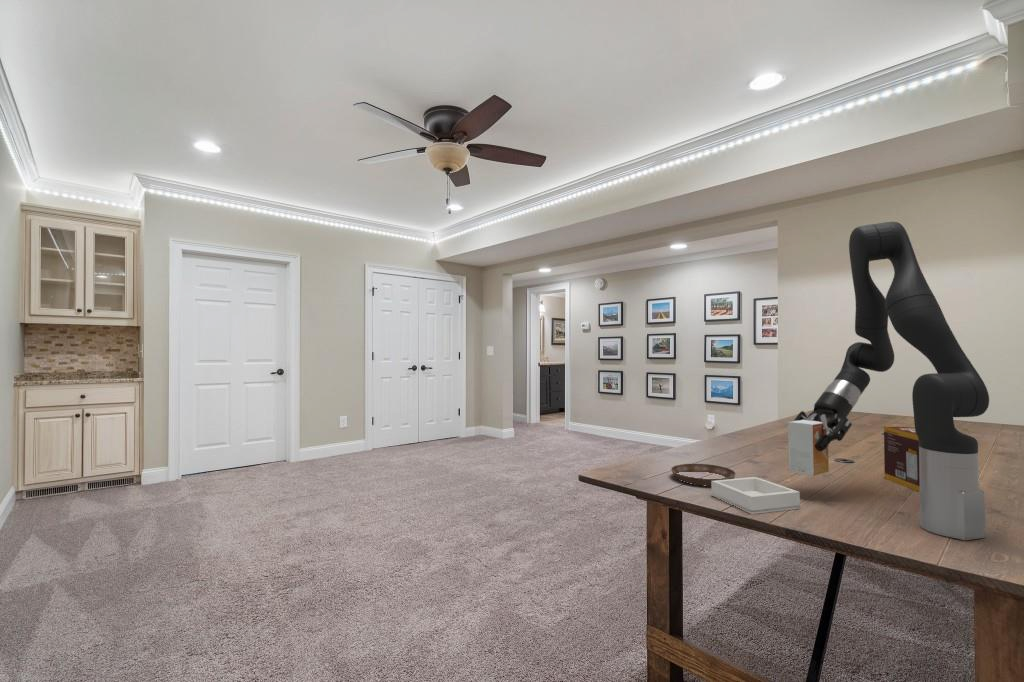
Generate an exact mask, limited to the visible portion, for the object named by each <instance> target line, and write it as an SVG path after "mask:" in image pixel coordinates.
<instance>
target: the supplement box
mask: <svg viewBox="0 0 1024 682" xmlns="http://www.w3.org/2000/svg"><path fill="white" fill-rule="evenodd" d="M883 449H884V450H883V452H884V453H883V455H884V459H883V460H884V462H883V463H884V466H883V467H884V479H887V480H888V481H891V482H893V483H897V484H899V485H901V486H904V487H906V488H909V489H912V490H915V492H919V493H920V477H919V439H918V436H917V434H916V431H915V425H913V426H911V425H910V426H909V425H907V426H906V425H905V426H904V425H894V426H893V425H884V426H883Z"/></svg>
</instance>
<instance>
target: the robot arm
mask: <svg viewBox="0 0 1024 682" xmlns="http://www.w3.org/2000/svg"><path fill="white" fill-rule="evenodd" d="M848 241H849V242H848V251H849V252H848V253H849V261H850V269H851V276H852V282H853V283H852V284H853V290H854V297H855V298H854V299H855V313H854V314H855V316H854V332H855V334H856V335H857V336H858V337H860V338H863V339H865V340H867V341H868V342H870V343H868V342H860V341H859V342H857V341H856V342H855V343H853V344H851V345H849V347H848V348H847V350H846V352H845V353H846V354H845V356H844V360H843V363H842V366H841V369H840V371H839V372H838V374H837V375H836V377H835V378H834V379H833V381H832V382H831V383H830V384H828V386H827V387H826V388H825V390H824V391H823V392H822V393H821V395H820V397H819V398H818V399H817V400H816V401H815V403H814V405H813V411H812V412H810V413H806V412H805V411H804V410H802V411H800V412H799V413H798V414H797V415H796V417H795V418H794V420H793V421H798V420H808V421H818V422H822V423H823V425H822V428H823V430H824V435H822V436H821V438H820V439H819V440H818V442H817V443H816V444H815V447H816V449H817V450H818V451H821V452H822V451H823V450H825V449H826V448H827V446H828V447H829V444H830V443H831V442H834V441H838V442H839V441H842V440H843V438H845V436H846V434H847V433H848V431H849V430H850V428H851V427H852V425H853V424H852V422H851V421H850V419H849V418H847V417H848V415H849V414H850V412H851V411H852V410H853V409H854V407H855V406H856V404H857V403H858V401H859V400H860V399H859V398H860V397H861V395H862V394H863V392H865V389H867V387H868V386H869V384H870V382H871V377H870V376H871V375H870V374H869V373H868V372H867V371H865V370H869V371H873V372H879V373H880V372H881V373H883V372H887V371H888V370H890V369H891V368H892V366H893V365H894V362H895V351H894V348H893V345H892V343H891V342H892V341H891V339H890V333H889V331H888V330H889V329H888V326H889V324H888V323H889V321H890V323H891V325H892V328H893V329H894V330H895V331H896V333H897V334H898V335H899V336H900V337H901V338H902V339H904V340H905V342H907V343H908V344H910V345H911V346H912V347H914V348H915V349H916V350H917V351H919V352H920V353H921V354H922V355H923V356H924V357H926V358H927V360H928V361H929V362H930V363H931V365H932V366H933V367H934V370H935V371H936V373H934V372H933V373H925V374H922V375H920V376H919V377H918V378H917V379H916V380H915V382H914V384H913V387H912V395H911V396H912V398H911V400H912V408H913V409H912V411H913V424H914V426H915V431H916V434H917V436H918V439H919V477H920V492H919V518H920V519H919V521H920V522H919V526H920V527H921V529H924V530H925V531H928V532H929V533H933V534H936V535H939V536H944V537H947V538H954V539H958V540H961V541H971V540H977V539H983V538H984V537H985V538H986V500H985V498H986V495H985V491H984V490H983V489H979V488H980V487H979V486H980V483H979V479H980V478H979V477H980V476H979V442H978V440H977V439H976V438H975V437H974V436H971V435H968V434H965V433H963V432H961V431H959V430H958V429H957V428H956V426H955V423H954V422H955V421H954V418H973V417H979V416H982V415H983V414H985V413H986V411H987V410H988V408H989V406H990V395H989V391H988V389H987V388H988V387H987V386H986V384H985V382H984V381H983V379H982V377H981V376H980V374H979V372H978V371H977V370H976V368H975V367H974V365H973V364H972V362H971V360H970V359H969V358H968V356H967V355H966V353H965V352H964V350H963V349H962V347H961V345H960V344H959V342H958V340H957V338H956V336H955V334H954V332H953V331H952V329H951V328H950V326H949V324H948V322H947V320H946V318H945V315H944V313H943V310H942V309H941V306H940V304H939V302H938V301H937V299H936V296H935V294H934V293H933V291H932V289H931V287H930V286H929V284H928V282H927V280H926V278H925V276H924V273H923V271H922V269H921V267H920V265H919V262H918V260H917V257H916V254H915V250H914V248H913V246H912V245H913V244H912V242H911V240H910V237H909V234H908V232H907V230H906V228H905V227H904V226H903V224H901V223H900V222H897V221H886V222H885V221H884V222H879V223H873V224H865V225H859V226H856V227H854V229H853V230H852V231H851V233H850V235H849V240H848ZM880 260H889V261H890V262H891V264H892V267H893V271H894V273H893V274H894V275H893V279H892V281H891V284H890V285H889V288H888V291H887V292H886V296H884V294H883V293H882V292H881V290H880V289H879V287H878V286H877V284H876V283H875V282H874V279H872V276H871V273H870V262H873V261H880ZM864 369H865V370H864ZM985 538H984V539H985Z"/></svg>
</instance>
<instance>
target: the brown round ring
mask: <svg viewBox="0 0 1024 682" xmlns="http://www.w3.org/2000/svg"><path fill="white" fill-rule="evenodd" d="M670 470H671V472H672V474H673V475H674V476H675V478H676V479H677V478H678V479H680V480H682V481H685V482H688V483H692V484H696V485H695V486H697V485H706V486H711V481H715V480H726V479H735V476H736V474H737V472H736V471H734V470H733V469H731V468H728V467H725V466H722V465H721V466H720V465H715V464H708V463H707V464H706V463H682V464H677V465H673V466H672V467H670ZM679 472H709V473H715V474H719V475H722V476H724V477H725V478H722V479H703V478H694V477H688V476H684V475H680V474H677V473H679ZM678 479H677V480H678ZM680 480H679V481H680ZM682 481H681V482H682ZM706 486H705V487H706Z"/></svg>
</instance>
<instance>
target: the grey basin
mask: <svg viewBox="0 0 1024 682" xmlns="http://www.w3.org/2000/svg"><path fill="white" fill-rule="evenodd" d="M710 488H711V492H710V493H711V495H712V496H715V497H717V498H719V499H721V500H723V501H725V502H724V503H726V502H727V504H728V503H729V504H728V505H730V504H731V505H730V506H732V505H734V506H733V507H735V506H736V507H735V508H737V507H738V508H737V509H739V508H740V510H741V509H742V511H744V512H746V513H747V514H751V515H757V514H765V513H772V512H773V513H774V512H783V511H790V510H797V509H798V510H800V509H801V503H800V502H801V496H800V494H801V493H800V491H798V490H795V489H791V488H789V487H786V486H784V485H781V484H778V483H775V482H772V481H769V480H765V479H763V478H760V477H758V476H751V477H737V478H733V479H726V480H715V481H711V487H710ZM711 495H710V496H711ZM712 496H711V497H712ZM717 498H716V499H717ZM719 499H718V500H719ZM721 500H720V501H721ZM723 501H722V502H723Z"/></svg>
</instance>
